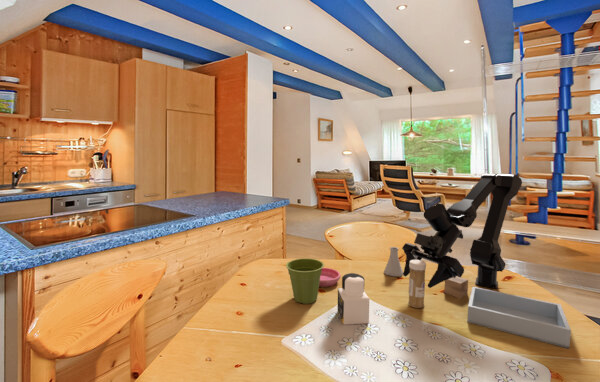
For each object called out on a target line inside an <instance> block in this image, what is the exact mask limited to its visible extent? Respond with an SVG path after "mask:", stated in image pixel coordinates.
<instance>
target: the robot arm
mask: <svg viewBox="0 0 600 382" xmlns="http://www.w3.org/2000/svg"><path fill="white" fill-rule="evenodd" d="M522 184H523V180H522V179H521V178H520V176H519V175H518V174H515V173H514V174H513V173H484V174H482V175H481V176H480V178H479V181H478V182H476V184H475V185H474V186H473V187H472V189H471V190H470V191H469V192H468V193H467V194H466V196H465V197H464V198H463V199H462V200H460V201H457V202H455V203H453V204H452V205H451V206H449V207H448V208H446V207H445V205H444V203H439V202H437V203H436V204H435V205H432V206H429V207H427V208H426V209H425V210H424V212H423V218H424V220H426V222H427V224H429V225H430V227H431V228H432V230H433V231H436V233H435V234H434V235H430V236H429V235H425V234H421V233H419V232H417V234H416V236H415V239H414V242H413V243H414V244H413V243H410V242H407V243H404V245H402V247H401V249H402V250H403V253H404V254H405V256H406V259H405V265H404V269H403V275H402V276H404V277H405V278H406V277H407V276H409V275H410V267H409V263H410V261H411V260H421V261H422V259H424V260H426V261H429V262H432V263H434V264H437V269H436V271H435V272H434V273H433V275H432V277H431V278H430V280H429V282H428V284H427V287H428V288H429V289H431V288H433V287H435V286H437V285H439V284H441V283H442V282H445V280H447V279H450V278H455V277H456V276H458V277H461V278H462V276H463V275H464V273H465V268H464V266H463V265H462V263H461V262H460V261H459V260H458V258H456V257H453V256H449V255H447V254H448V253H449V254H452V253H453V248H452V247H453V246H454V244H455V242H456V241H457V239H464V234H463V230H462V229H460V228H459V227H463V228H469V227H471V226H472V225H473V223H474V222H475V220H476V218H477V216H478V215H477V211H478V209H479V207H481V205H482V203H484V202H485V200H486V199H487V198H488V197H489V196H490V195H492V199H491V202H490V206H489V209H488V212H487V216H486V220H485V224H484V227H483V231H482V233H481V236H480V237H479V238H478V239H473V240H472V242H471V243H472V244H471V247H470V249H469V251H470V252H469V256H470V261H471V264H472V265H475V266H477V277H476V278H475V282H474V283H475V286H481V287H487V288H489V289H490V288H491V289H494V290H498V288H499V285H498V284H499V282H498V281H497V280H498V279H497V278H498V272H501V273H502V272H503V271H504V270H505V268H506V265H507V264H506V262H505V261H504V259H503V258H502V256H501V254H502V253H501V252H502V249H501V246H500V243H499V239H500V234H501V231H502V229H503V225H504V222H505V221H504V220H505V218H506V214H507V212H508V207H509V204H510V201H511V200H513V198H515V197H516V196H517V195H518V193H519V191H520V188H521V187H522ZM417 245H419V246H420V248H419V247H418V246H417ZM420 249H421V250H422V251H421V250H420Z"/></svg>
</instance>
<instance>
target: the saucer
mask: <svg viewBox="0 0 600 382" xmlns="http://www.w3.org/2000/svg"><path fill="white" fill-rule="evenodd" d="M340 279H341V273H340V272H339V270H337V269H333V268H330V267H323V268H322V272H321V275H320V282H319V287H322V288H326V287H332V286H334V285H335V284H337V282H338V281H340Z"/></svg>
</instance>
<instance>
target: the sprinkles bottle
mask: <svg viewBox="0 0 600 382" xmlns="http://www.w3.org/2000/svg"><path fill="white" fill-rule="evenodd" d="M409 267H410V273H409V278H408V280H409V281H408V303H407V304H408V305H409V306H410V307H411V308H414V309H415V308H416V309H421V308H424V307H425V286H426V283H425V282H426V281H425V280H426V279H425V278H426V269H427V268H426V267H427V263H426V261H425V260H422V259H421V260H411V261H410V263H409Z"/></svg>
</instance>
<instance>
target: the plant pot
mask: <svg viewBox="0 0 600 382" xmlns="http://www.w3.org/2000/svg"><path fill="white" fill-rule="evenodd" d="M285 267H286V269H287V271H288V275H289V277H290V283H291V284H290V285H291V289H292V293H293V298H294V299H293V300H294V301H295V302H297V303H300V304H301V303H302V304H304V305H308V304H312V303H315V302H316V300H317V299H318V294H319V287H320V286H319V282H320V275H321V272H322V268H325V264H324V262H323V261H322V260H320V259H316V258H305V257H304V258H295V259H292V260H290V261H288V262H286V264H285Z"/></svg>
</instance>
